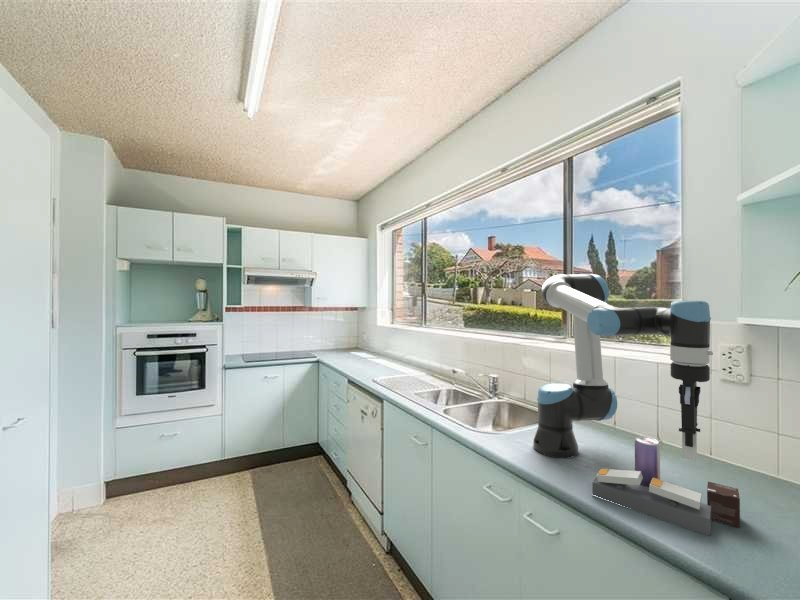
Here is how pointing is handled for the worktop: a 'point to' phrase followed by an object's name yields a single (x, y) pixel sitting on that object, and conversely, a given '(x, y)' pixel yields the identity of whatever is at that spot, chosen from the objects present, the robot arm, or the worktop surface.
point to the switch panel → (655, 505)
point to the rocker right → (675, 493)
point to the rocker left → (620, 476)
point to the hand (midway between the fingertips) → (689, 457)
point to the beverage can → (647, 459)
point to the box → (724, 504)
